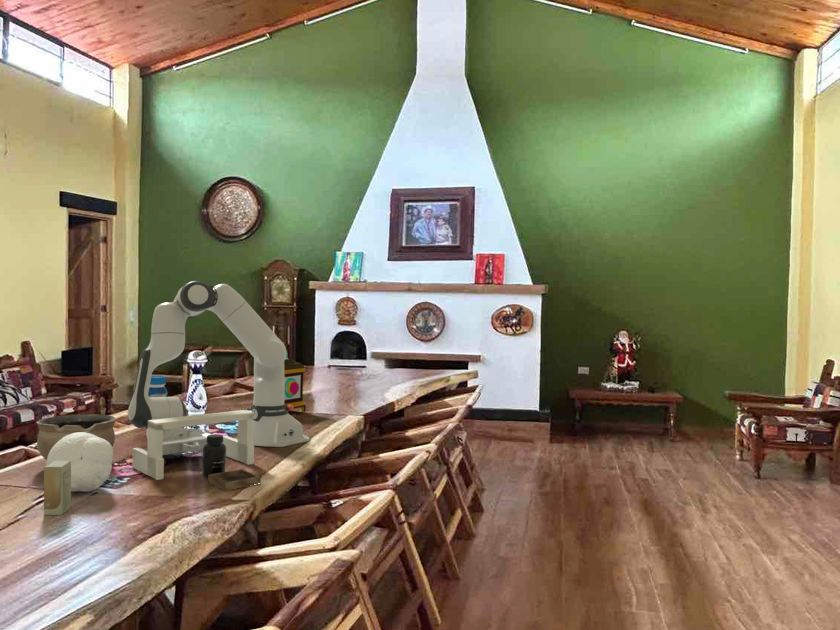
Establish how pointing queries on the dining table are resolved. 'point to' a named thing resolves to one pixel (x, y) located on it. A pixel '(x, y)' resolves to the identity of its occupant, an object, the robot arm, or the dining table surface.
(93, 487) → the decorative orb
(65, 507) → the skincare box
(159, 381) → the beverage bottle
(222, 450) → the supplement bottle
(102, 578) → the dining table surface
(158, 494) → the dining table surface
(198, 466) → the dining table surface
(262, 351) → the robot arm
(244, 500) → the dining table surface
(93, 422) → the ceramic bowl
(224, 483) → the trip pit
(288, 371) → the decorative lantern
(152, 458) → the arch lane
